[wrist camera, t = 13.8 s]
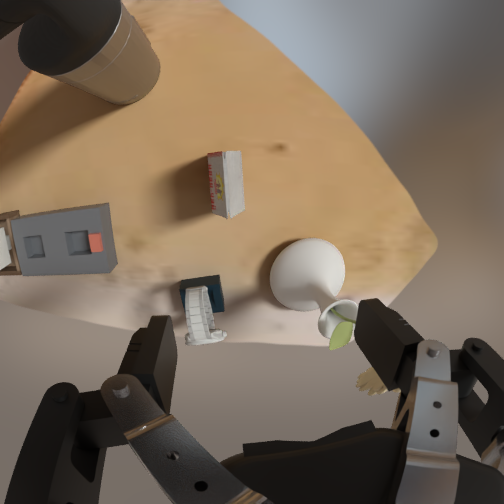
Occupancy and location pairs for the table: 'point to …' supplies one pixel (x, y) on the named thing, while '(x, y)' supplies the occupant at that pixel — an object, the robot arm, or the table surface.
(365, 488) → the robot arm
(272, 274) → the flower in vase
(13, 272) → the tray
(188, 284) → the watch
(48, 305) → the table surface
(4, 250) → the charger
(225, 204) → the tea box
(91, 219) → the power strip
